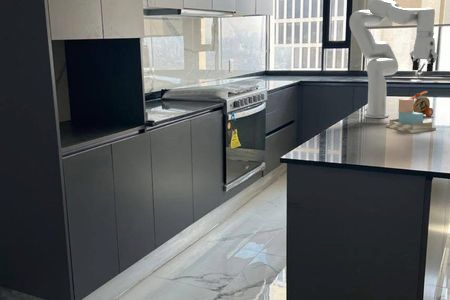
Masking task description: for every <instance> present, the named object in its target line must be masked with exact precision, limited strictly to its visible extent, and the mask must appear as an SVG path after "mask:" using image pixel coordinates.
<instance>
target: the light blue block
mask: <svg viewBox="0 0 450 300" xmlns="http://www.w3.org/2000/svg"><path fill="white" fill-rule="evenodd" d="M398 118H399V119H398ZM398 118H397V119H398V123H403V124H408V125H412V124H417V123H424V115H423V114H422V113H417V112H414V111H413V112H406V113H404V112H398Z"/></svg>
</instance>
